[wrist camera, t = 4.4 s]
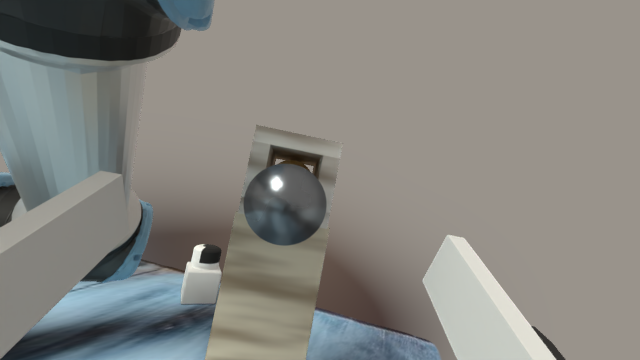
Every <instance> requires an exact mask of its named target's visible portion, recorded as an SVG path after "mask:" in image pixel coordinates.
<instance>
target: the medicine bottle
mask: <svg viewBox="0 0 640 360" xmlns="http://www.w3.org/2000/svg"><path fill="white" fill-rule="evenodd" d="M220 256H221V249H220V248H219V247H217V246H215V245H209V244H201V245H198V246H196V247H194V251H193V256H192V260H191V262H188V263H187V266H186V270H185V275H184V280H183V284H182V289H181V304H215V302H216V298H217V293H218V288H219V284H220V279H221V271H220V268H219V260H220Z"/></svg>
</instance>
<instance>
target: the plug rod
mask: <svg viewBox="0 0 640 360" xmlns="http://www.w3.org/2000/svg"><path fill="white" fill-rule="evenodd" d="M243 204H244V214H245V217H246V220H247V222H248V224H249V226H250V228H251V229H252V230H253V232H254V233H255V234H256V235H257V236H259V237H260V238H261V239H263V240H265V241H267V242H269V243H272V244H275V245H282V246H289V245H294V244H298V243H301V242H303V241H305V240H307V239H308V238H310V237H311V236H312V235H313V234H314V233H315V232H316V231H317V230H318V229H319V227H320V226H321V224H322V222H323V220H324V217H325V214H326V207H327V201H326V195H325V191H324V189H323V186H322V185H321V183H320V181H319V180H318V179H317V178H316V177H315V176H314V175H313V174H312V173H311V172H310V170H309V169H308V168H307V167H306V166H305V165H304V164H303V163H301V162H299V161H295V160H286V161H283V162H281V163H279V164H277V165H273V166H270V167H268V168H266V169H264V170H262V171H261V172H260V173H258V174H257V175H256V176H255V177H254V178H253V179H252V181H251V182H250V184H249V185H248V187H247V190H246V192H245V196H244V203H243Z"/></svg>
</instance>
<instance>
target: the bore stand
mask: <svg viewBox="0 0 640 360" xmlns="http://www.w3.org/2000/svg"><path fill="white" fill-rule="evenodd" d="M342 144H343V143H339V142H335V141H330V140H325V139H321V138H316V137H311V136H306V135H302V134H297V133H292V132H288V131H283V130H278V129H273V128H268V127H263V126H259V125H256V130H255V134H254V139H253V144H252V149H251V153H250V158H249V163H248V168H247V173H246V178H245V182H244V187H243V192H242V196H241V201H240V206H239V211H236V213H235V218H234V222H233V227H232V232H231V237H230V242H229V247H228V252H227V256H226V261H225V265H224V270H223V275H222V280H221V285H220V289H219V294H218V299H217V304H216V309H215V313H214V318H213V323H212V328H211V332H210V337H209V342H208V347H207V352H206V356H205V360H306V355H307V349H308V344H309V338H310V333H311V327H312V322H313V316H314V311H315V305H316V299H317V294H318V289H319V283H320V278H321V273H322V267H323V262H324V256H325V251H326V245H327V240H328V234H329V229H330V228H329V227H328V221H329V216H330V210H331V205H332V199H333V194H334V188H335V183H336V177H337V172H338V166H339V160H340V156H341V150H342ZM276 159H282V160H295V161H299V162H301V163H303V164H306V165H311V166H314V168H313V173H312V174H313V175H314V176H315V177H316V178H317V179H318V180H319V181H320V183H321V185H322V186H323V189H324V191H325V195H326V201H327V207H326V214H325V217H324V220H323V222H322V224H321V226H320V227H319V229H318V230H317V231H316V232H315V233H314V234H313V235H312V236H311V237H310V238H308V239H307V240H305V241H303V242H301V243H298V244H294V245H289V246H282V245H275V244H272V243H269V242H267V241H265V240H263V239H261V238H260V237H259V236H257V235H256V234H255V233H254V232H253V230H252V229H251V228H250V226H249V224H248V222H247V220H246V217H245V214H244V204H243V203H244V196H245V192H246V190H247V187H248V185H249V184H250V182H251V181H252V179H253V178H254V177H255V176H256V175H257V174H258V173H260V172H261V171H262V170H264V169H266V168H268V167H270V166H273V165H275V161H276Z"/></svg>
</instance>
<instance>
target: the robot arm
mask: <svg viewBox="0 0 640 360" xmlns="http://www.w3.org/2000/svg"><path fill="white" fill-rule="evenodd" d="M213 7H214V0H0V151H1V154H2V156H3V158H4V160H5V163H6V165H7V167H8V169H9V172H10V173H3V172H0V359H1V358H2V357H3V356H4V355H5V354H6V353H7V352H8V351H9V350H10V349H11V348H12V347H13V346H14V345H15V344H16V343H17V342H18V341H19V340H20V339H21V338H22V337H23V336H24V335H25V334H26V333H27V332H28V331H29V330H30V329H31V328H33V327H34V326H35V325H36V324H37V323H38V322H39V321H40V320H41V319H42V318H43V317H44V316H45V315H46V314H47V313H48V312H49V311H50V310H51V309H52V308H53V307H54V306H55V305H56V304H57V303H58V302H59V301H60V300H61V299H62V298H63V297H64V296H65V295H66V294H67V293H68V292H69V291H70V290H71V289H72V288H73V287H74V286H75V285H76V284H77V283H78V282H79V281H97V282H101V283H104V282H108V281H116V280H124V279H127V278H128V277H130V276H131V275H132V274H133V273H134V272H135V271H136V269H137V267H138V265H139V263H140V260H141V257H142V253H143V252H144V250H145V247H146V244H147V241H148V237H149V233H150V229H151V224H152V219H153V208H152V206H151V204H149V203H147V202H143V201H142V200H139V199H138V197H137V195H136V194H135V193H134V191H133V190H132V189H131V182H132V175H133V168H134V160H135V152H136V144H137V137H138V129H139V121H140V114H141V106H142V98H143V91H144V83H145V75H146V68H147V62H149V61H152V60H155V59H158V58H160V57H162V56H164V55H165V54H167V53H168V52H170V51H171V50H172V49H173V48H174V47H175V45H176V43H177V42H178V39H179V36H180V32H181V28H182V29H184V30H191V29H194V30H198V31H204V30H207V29H208V28H209V27H210V25H211V20H212V14H213ZM423 283H424V286H425V288H426V290H427V292H428V295H429V297H430V299H431V301H432V304H433V306H434V308H435V311H436V313H437V315H438V317H439V320H440V322H441V324H442V326H443V329H444V331H445V333H446V335H447V338H448V340H449V342H450V344H451V347H452V349H453V351H454V354H455V356H456V358H457V360H565V359H564V357H563V356H562V355H561V353H560V352H559V351H558V350H557V348H556V347H555V346H554V345H553V343H552V342H551V341H549V340H548V339H547V338H546V337H545V336H544V335H543V334H542V333H541V332H540V331H538V329H536V328H535V327H533V326H530V324H529V323H528V322H527V320H526V319H525V318H524V316H523V315H522V314H521V312H520V311H519V310H518V308H517V307H516V306H515V304H514V303H513V302H512V300H511V299H510V298H509V297H508V295H507V294H506V293H505V291H504V290H503V289H502V287H501V286H500V285H499V283H498V282H497V281H496V279H495V278H494V277H493V275H492V274H491V273H490V272H489V270H488V269H487V268H486V266H485V265H484V264H483V262H482V261H481V260H480V258H479V257H478V256H477V255H476V253H475V252H474V250H473V249H472V248H471V246H470V245H469V244H468V243H467V241H466V240H465V238H462V237H456V236H451V235H447V236H446V238H445V240H444V242H443V244H442V246H441V248H440V249H439V251H438V253H437V255H436V257H435V258H434V260H433V262H432V264H431V266H430V267H429V269H428V271H427V273H426V275H425V277H424V278H423Z"/></svg>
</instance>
